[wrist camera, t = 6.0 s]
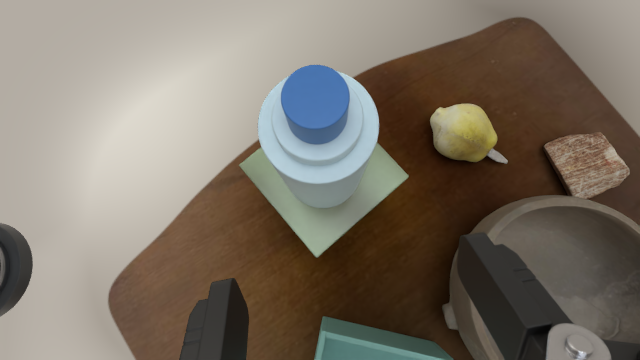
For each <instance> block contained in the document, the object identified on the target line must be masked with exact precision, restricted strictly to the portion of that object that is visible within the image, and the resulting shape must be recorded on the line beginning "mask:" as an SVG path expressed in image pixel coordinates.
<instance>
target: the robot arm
mask: <svg viewBox="0 0 640 360" xmlns="http://www.w3.org/2000/svg"><path fill="white" fill-rule="evenodd" d="M457 271H458V275H459V278H460V280H461V283H462V284H463V286H464V288H465V290H466V291H467V293H468V295H469V297H470V299H471V300H472V302H473V304H474V306H475V307H476V309H477V311H478V313H479V315H480V316H481V318H482V320H483V322H484V323H485V325H486V327H487V329H488V331H489V332H490V334H491V336H492V338H493V339H494V341H495V343H496V345H497V347H498V348H499V350H500V352H501V354H502V355H503V357H504V359H505V360H640V344H636V343H627V342H619V341H611V340H605V339H602V338H599V337H598V336H597V335H596V334H594V333H593V332H591V331H590V330H588V329H586V328H584V327H581V326H579V325H575V324H574V323H573V322H572V321H571V320H570V319H569V318H568V316H567V315H566V314H565V313H564V311H563V310H562V309H561V308H560V306H559V305H558V304H557V303H556V301H555V300H554V299H553V298H552V296H551V295H550V294H549V293H548V291H547V290H546V289H545V288H544V286H543V285H542V284H541V283H540V281H539V280H538V279H536V276H535V275H534V274H533V273H532V271H531V270H530V269H528V268H527V265H526V264H525V263H524V261H523V260H522V259H521V258H520V256H519V255H518V254H517V253H516V252H514V251H513V250H511V249H510V248H508V247H507V246H505V245H504V244H499V245H494V244H493V242H492V241H491V240H490V238H489V237H488V236H487V234H486V233H484V232H478V233H473V234H467V235H462V236H460V239H459V248H458V257H457ZM8 275H9V257H8V253H7V251H6V249H5V247H4V245H3V244H2V243H1V242H0V293H1V292H2V290H3V288H4V286H5V284H6V282H7V279H8ZM248 325H249V315H248V308H247V304H246V302H245V300H244V297H243V295H242V293H241V291H240V288H239V286H238V284H237V281H236V280H235V278H231V279H226V280H220V281H215V282H212V284H211V286H210V291H209V296H208V299H205V300H199V301H198V303H197V304H196V306H195V307H194V309H193V311H192V312H191V314H190V316H189V320H188V324H187V329H186V333H185V337H184V342H183V343H184V345H183V346H182V350H181V354H180V359H179V360H246V354H247V339H248Z"/></svg>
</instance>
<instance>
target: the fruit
mask: <svg viewBox="0 0 640 360" xmlns="http://www.w3.org/2000/svg"><path fill="white" fill-rule="evenodd" d="M430 124H431V127H432V130H433V140H434V146H435V148H436V150H437V151H438V152H439V153H440V154H442V155H444V156H446V157H448V158H450V159H454V160H466V161H470V162H478V161H480V160H481V159H483V158H484V157H486V156H489V157H490V158H491V159H493V160H495V161H497V162H501V163H505V164H507V162H508V161H507V159H505V158H504V157H503V156H502V155H501V154H500V153H498V152H497V151H494V149H493V147H494V146H495V144H496V142H497V135H496V133H495V131H494V129H493V127H492V125H491V123H490V121H489V119H488V117H487V115H486V114H485V112H484V111H483V110H482V109H481V108H480V107H478V106H476V105H473V104H458V105H454V106H451V107H448V108H441V107H440V108H438V109H437V110H436V111H435V113H434V114H433V115H432V116H431V119H430Z"/></svg>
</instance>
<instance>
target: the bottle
mask: <svg viewBox="0 0 640 360" xmlns="http://www.w3.org/2000/svg"><path fill="white" fill-rule="evenodd" d="M378 133H379V118H378V113H377V109H376V106H375V104H374V102H373V100H372V98H371V96H370V95H369V93H368V92H367V91H366V89H365V88H364V87H363V86H362V85H361V84H360V83H358V82H357V81H356V80H354V79H353V78H351V77H349V76H348V75H346V74H343V73H341V72H338V71H335V70H333V69H332V68H329V67H326V66H321V65H309V66H305V67H302V68H300V69H298V70H296V71H295V72H294V73H293V74H291V75H290V76H288V77H287V78H285V79H284V80H282V81H281V82H280V83H278V84H277V85H276V86H275V87H274V88H273V89H272V91H271V92H270V93H269V95H268V96H267V97H266V99H265V101H264V103H263V105H262V108H261V110H260V114H259V118H258V135H259V141H260V144H261V147H262V149H263V151H264V153H265V155H266V157H267V158H268V160H269V161H270V163H271V164H272V165H273V167H274V168H275V170H276V171H277V172H278V174H279V175H280V176H281V178H282V179H283V181H284V182H285V183H286V185H287V186H288V188H289V189H290V190H291V192H292V193H293V194H294V195H295V197H296V198H298V199H299V200H300V201H301V202H303V203H305V204H307V205H309V206H312V207H316V208H330V207H334V206H337V205H339V204H341V203H343V202H345V201H346V200H347V199H348V198H349V197H351V195H352V194H353V193H354V192H355V190H356V188H357V186H358V184H359V182H360V180H361V177H362V175H363V173H364V171H365V168H366V166H367V164H368V161H369V159H370V157H371V155H372V152H373V150H374V148H375V145H376V142H377V139H378Z"/></svg>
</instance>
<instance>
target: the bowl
mask: <svg viewBox="0 0 640 360" xmlns="http://www.w3.org/2000/svg"><path fill="white" fill-rule="evenodd" d="M478 232H484V233H486V234H487V236H488V237H489V238H490V240H491V241H492V242H493V244H494V245H499V244H504V245H505V246H507V247H508V248H510V249H511V250H513V251H514V252H516V253H517V254H518V255H519V256H520V258H521V259H522V260H523V261H524V263H525V264H526V265H527V268H528V269H530V270H531V271H532V273H533V274H534V275H535V276H536V279H538V280H539V281H540V283H541V284H542V285H543V286H544V288H545V289H546V290H547V291H548V293H549V294H550V295H551V296H552V298H553V299H554V300H555V301H556V303H557V304H558V305H559V306H560V308H561V309H562V310H563V311H564V313H565V314H566V315H567V316H568V318H569V319H570V320H571V321H572V322H573V323H574V324H575V325H579V326H581V327H584V328H586V329H588V330H590V331H591V332H593V333H594V334H596V335H597V336H598V337H599V338H602V339H605V340H611V341H619V342H627V343H636V344H640V226H639V225H637V224H636V223H635V222H634V221H632V220H631V219H629V218H628V217H626V216H625V215H623V214H622V213H620V212H618V211H616V210H614V209H612V208H609V207H607V206H605V205H602V204H599V203H597V202H594V201H591V200H587V199H583V198H579V197H573V196H562V195H546V196H535V197H530V198H525V199H521V200H518V201H515V202H512V203H510V204H507V205H505V206H503V207H501V208H499V209H497V210H496V211H494V212H493V213H491V214H490V215H488V216H487V217H485V218H484V219H483V220H482V221H481V222H479V223H478V225H477V226H476V227H475V228H474V229H473V230H472V232H471V233H470V234H473V233H478ZM457 257H458V250H457V251H456V253H455V256H454V259H453V263H452V269H451V273H450V301H449V303H447V304H444V305H443V306H442V310H443V313H444V315H445V321H446V324H447V326H448V328H450V329H455V330H458V331H459V334H460V336H461V338H462V340H463V342H464V344H465V346H466V347H467V349H468V351H469V352H470V354H471V355H472V357H473V358H474V360H505V359H504V357H503V355H502V354H501V352H500V350H499V348H498V347H497V345H496V343H495V341H494V339H493V338H492V336H491V334H490V332H489V331H488V329H487V327H486V325H485V323H484V322H483V320H482V318H481V316H480V315H479V313H478V311H477V309H476V307H475V306H474V304H473V302H472V300H471V299H470V297H469V295H468V293H467V291H466V290H465V288H464V286H463V284H462V283H461V280H460V278H459V275H458V271H457Z"/></svg>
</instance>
